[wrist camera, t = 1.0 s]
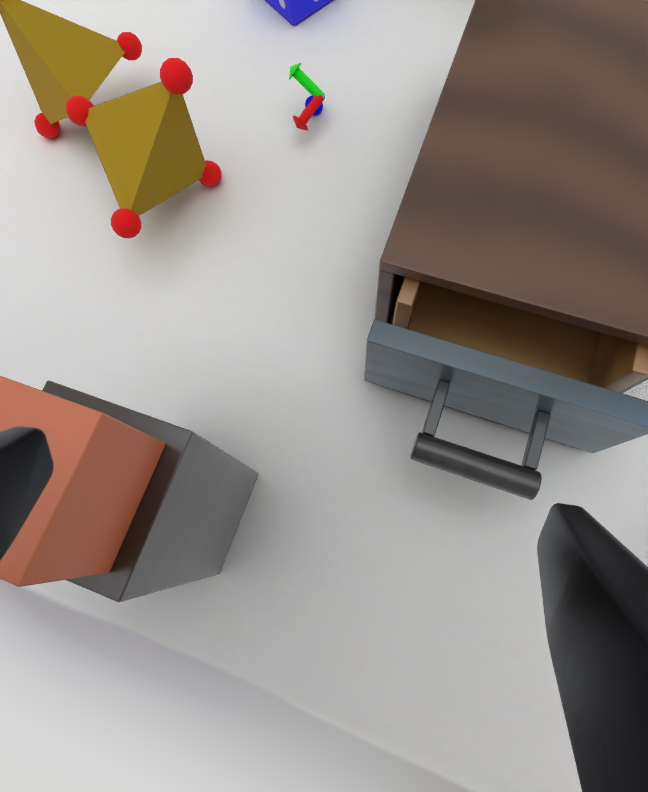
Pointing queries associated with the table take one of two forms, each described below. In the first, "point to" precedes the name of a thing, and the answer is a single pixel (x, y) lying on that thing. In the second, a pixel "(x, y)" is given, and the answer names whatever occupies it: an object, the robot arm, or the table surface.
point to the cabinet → (536, 168)
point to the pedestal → (172, 508)
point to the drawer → (506, 379)
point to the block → (76, 487)
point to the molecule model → (119, 109)
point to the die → (297, 8)
